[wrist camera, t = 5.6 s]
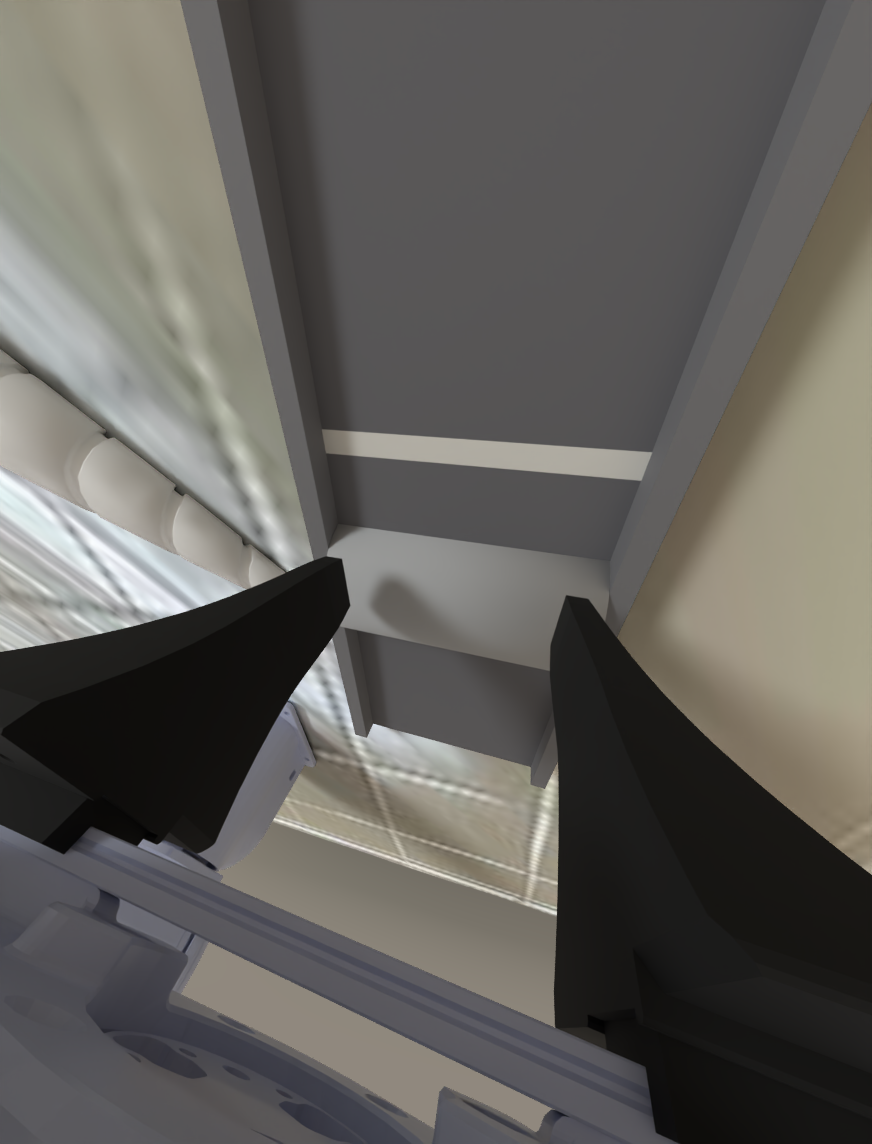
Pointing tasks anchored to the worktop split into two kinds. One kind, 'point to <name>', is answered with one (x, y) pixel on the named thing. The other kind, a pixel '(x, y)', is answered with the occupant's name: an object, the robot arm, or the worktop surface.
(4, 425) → the unicorn horn
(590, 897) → the robot arm
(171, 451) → the worktop surface
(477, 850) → the worktop surface
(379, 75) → the divided tray
